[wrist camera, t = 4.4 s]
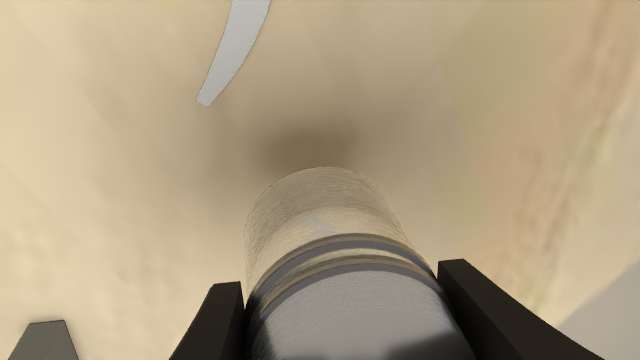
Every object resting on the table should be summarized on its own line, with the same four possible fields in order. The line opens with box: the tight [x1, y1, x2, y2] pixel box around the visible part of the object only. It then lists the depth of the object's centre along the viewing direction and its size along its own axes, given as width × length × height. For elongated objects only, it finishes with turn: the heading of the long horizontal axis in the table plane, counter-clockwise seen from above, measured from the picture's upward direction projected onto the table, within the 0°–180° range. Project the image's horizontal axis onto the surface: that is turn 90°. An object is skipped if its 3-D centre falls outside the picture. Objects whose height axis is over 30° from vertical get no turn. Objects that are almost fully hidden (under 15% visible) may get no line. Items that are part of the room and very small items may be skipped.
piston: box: [243, 167, 477, 360], centre depth 12 cm, size 5×5×6 cm
